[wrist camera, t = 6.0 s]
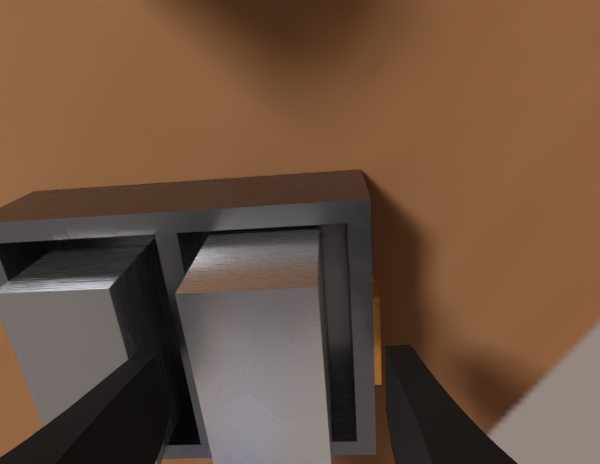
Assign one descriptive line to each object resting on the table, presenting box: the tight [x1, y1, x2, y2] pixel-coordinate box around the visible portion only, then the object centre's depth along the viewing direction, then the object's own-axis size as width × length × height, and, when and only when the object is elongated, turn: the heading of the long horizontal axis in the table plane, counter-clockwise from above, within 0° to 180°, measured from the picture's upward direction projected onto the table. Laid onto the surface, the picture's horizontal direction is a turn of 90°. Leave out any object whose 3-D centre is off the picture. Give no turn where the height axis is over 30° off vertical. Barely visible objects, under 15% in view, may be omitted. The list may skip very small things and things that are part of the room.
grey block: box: [175, 225, 332, 464], centre depth 13 cm, size 6×3×5 cm, turn 5°
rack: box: [0, 170, 382, 464], centre depth 14 cm, size 9×11×4 cm
